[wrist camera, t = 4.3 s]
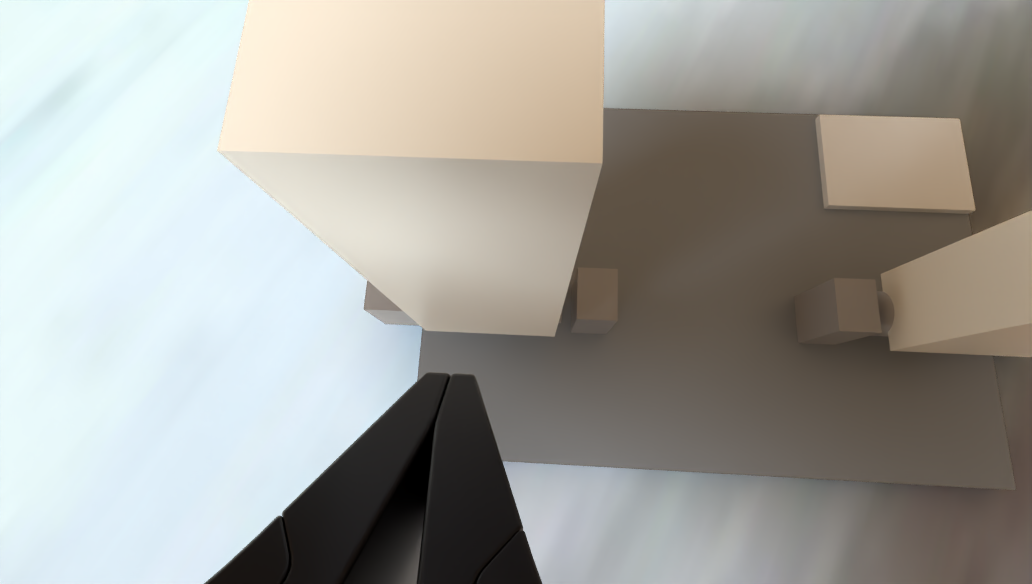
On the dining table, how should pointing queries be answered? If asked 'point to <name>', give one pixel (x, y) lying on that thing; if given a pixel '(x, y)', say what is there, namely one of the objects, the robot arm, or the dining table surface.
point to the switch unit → (747, 310)
